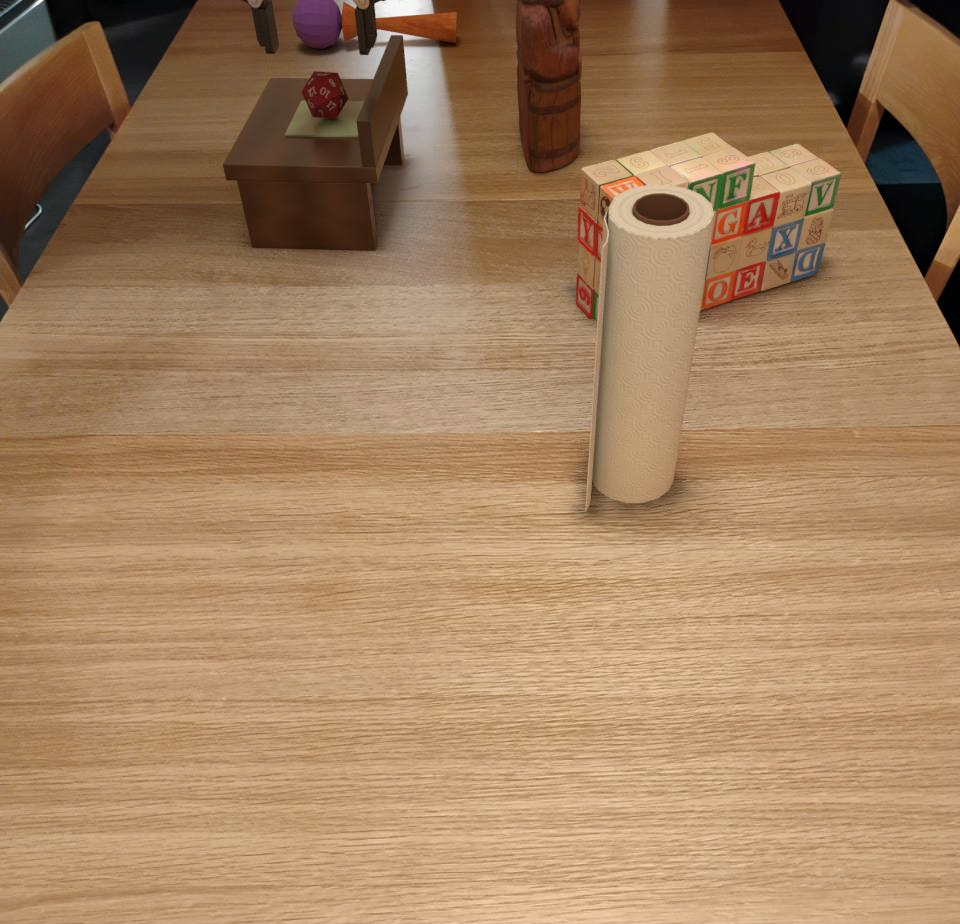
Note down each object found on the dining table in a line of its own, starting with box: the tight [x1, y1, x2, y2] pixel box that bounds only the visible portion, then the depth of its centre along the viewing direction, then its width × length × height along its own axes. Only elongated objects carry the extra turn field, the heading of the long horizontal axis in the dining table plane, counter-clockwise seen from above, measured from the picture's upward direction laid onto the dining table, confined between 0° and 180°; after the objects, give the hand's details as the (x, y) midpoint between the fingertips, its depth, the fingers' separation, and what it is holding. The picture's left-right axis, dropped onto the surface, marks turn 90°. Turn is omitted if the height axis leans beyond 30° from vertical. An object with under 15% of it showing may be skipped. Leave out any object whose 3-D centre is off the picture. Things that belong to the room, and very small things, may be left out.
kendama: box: [291, 0, 458, 50], centre depth 123 cm, size 6×6×20 cm
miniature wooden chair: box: [222, 34, 409, 251], centre depth 96 cm, size 14×18×12 cm
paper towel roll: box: [584, 185, 714, 512], centre depth 65 cm, size 7×6×21 cm
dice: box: [301, 70, 349, 119], centre depth 93 cm, size 4×4×4 cm
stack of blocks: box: [575, 132, 842, 320], centre depth 84 cm, size 21×6×12 cm, turn 114°
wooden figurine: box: [515, 0, 583, 173], centre depth 99 cm, size 12×6×18 cm, turn 3°
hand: (318, 51), depth 90 cm, fingers open, 8 cm apart
